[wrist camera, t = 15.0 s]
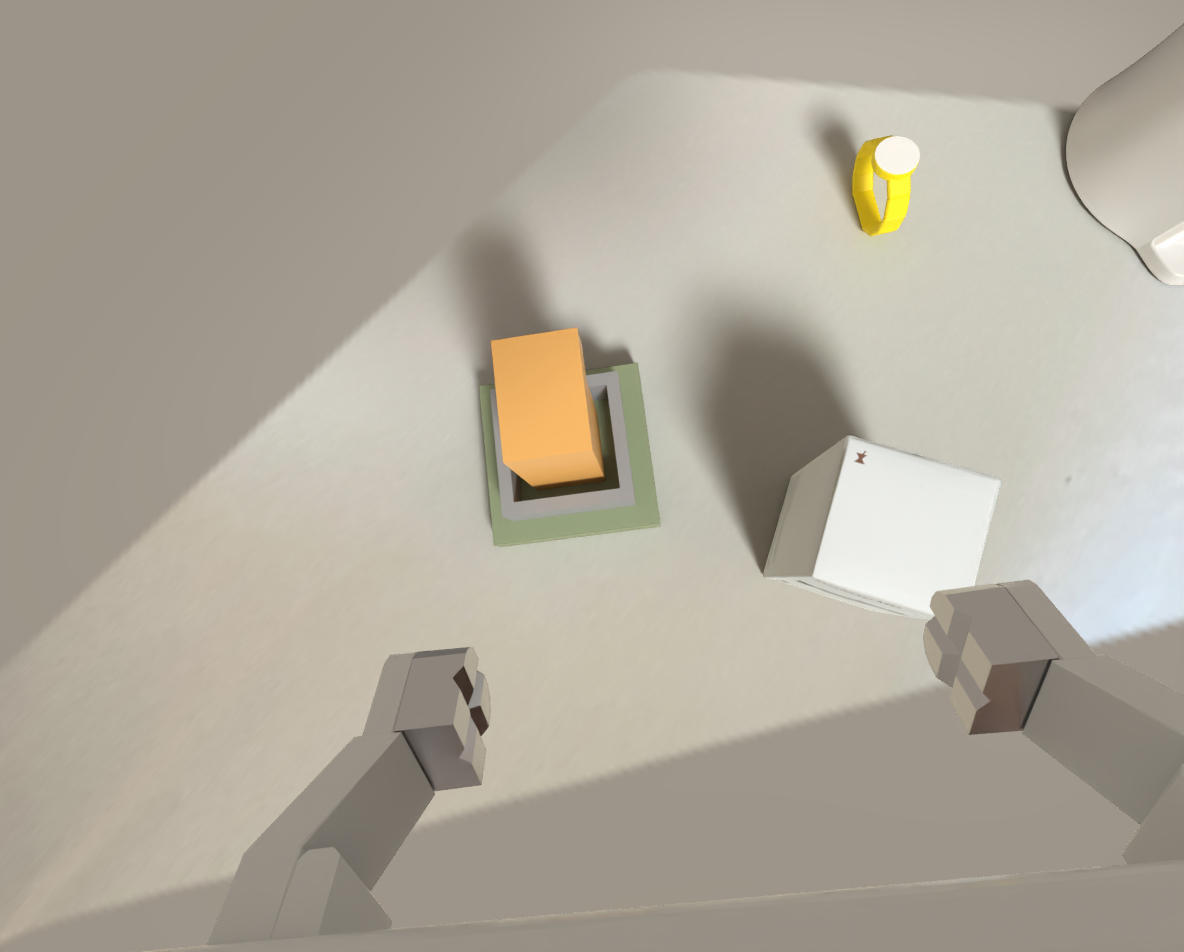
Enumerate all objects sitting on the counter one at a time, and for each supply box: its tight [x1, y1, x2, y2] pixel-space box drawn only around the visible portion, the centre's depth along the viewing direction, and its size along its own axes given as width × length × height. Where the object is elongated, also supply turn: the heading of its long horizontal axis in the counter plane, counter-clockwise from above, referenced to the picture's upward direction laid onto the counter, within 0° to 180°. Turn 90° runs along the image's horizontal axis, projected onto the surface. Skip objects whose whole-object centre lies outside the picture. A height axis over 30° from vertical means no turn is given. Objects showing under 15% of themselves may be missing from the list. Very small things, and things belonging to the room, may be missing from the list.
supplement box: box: [763, 435, 1001, 620], centre depth 36 cm, size 7×7×13 cm
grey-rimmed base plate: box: [479, 363, 660, 547], centre depth 42 cm, size 11×11×5 cm
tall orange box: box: [491, 328, 606, 491], centre depth 38 cm, size 7×5×10 cm
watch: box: [852, 135, 920, 236], centre depth 43 cm, size 6×3×6 cm, turn 10°
